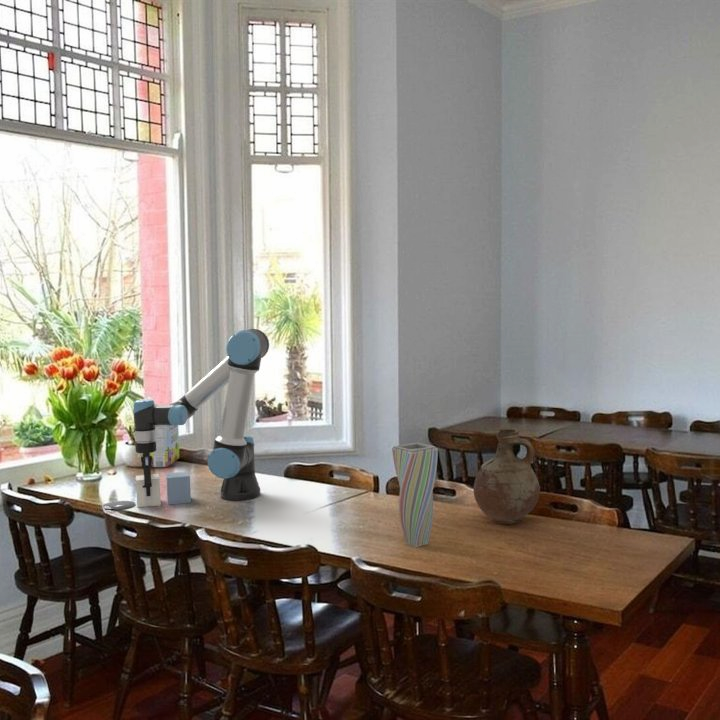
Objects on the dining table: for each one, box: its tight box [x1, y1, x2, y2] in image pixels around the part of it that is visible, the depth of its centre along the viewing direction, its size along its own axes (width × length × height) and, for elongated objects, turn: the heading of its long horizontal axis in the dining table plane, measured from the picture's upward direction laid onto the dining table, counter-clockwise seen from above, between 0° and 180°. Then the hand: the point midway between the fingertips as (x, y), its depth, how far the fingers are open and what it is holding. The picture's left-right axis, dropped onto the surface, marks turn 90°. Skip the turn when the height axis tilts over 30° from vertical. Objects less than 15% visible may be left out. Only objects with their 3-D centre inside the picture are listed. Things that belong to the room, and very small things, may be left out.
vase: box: [391, 442, 439, 548], centre depth 260 cm, size 14×14×30 cm
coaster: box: [103, 500, 136, 511], centre depth 317 cm, size 11×11×1 cm
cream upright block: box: [135, 473, 162, 508], centre depth 319 cm, size 8×8×10 cm
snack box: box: [150, 425, 180, 468], centre depth 393 cm, size 22×9×26 cm, turn 179°
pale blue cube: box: [165, 471, 192, 505], centre depth 322 cm, size 8×8×10 cm
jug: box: [473, 428, 541, 525], centre depth 282 cm, size 22×22×30 cm
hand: (148, 501), depth 320 cm, fingers closed on cream upright block, 8 cm apart
